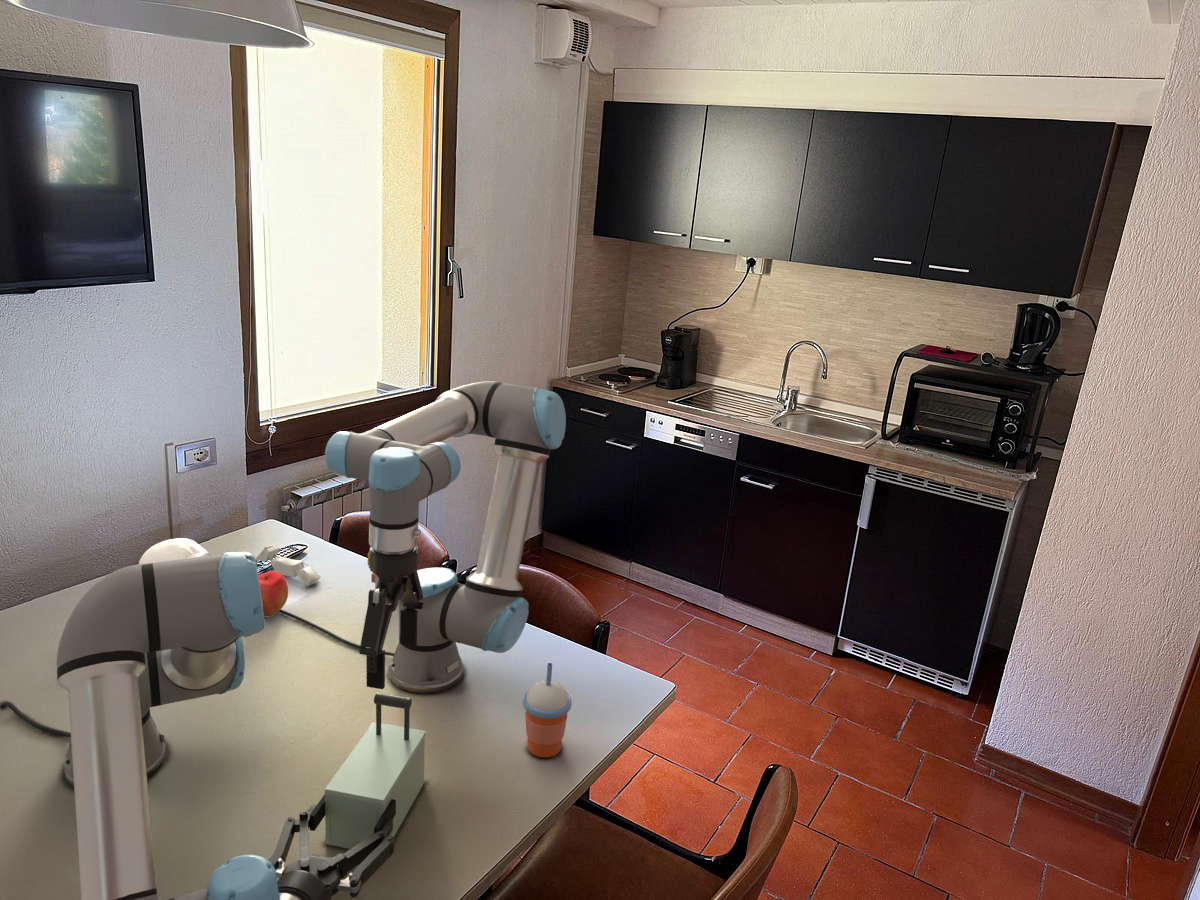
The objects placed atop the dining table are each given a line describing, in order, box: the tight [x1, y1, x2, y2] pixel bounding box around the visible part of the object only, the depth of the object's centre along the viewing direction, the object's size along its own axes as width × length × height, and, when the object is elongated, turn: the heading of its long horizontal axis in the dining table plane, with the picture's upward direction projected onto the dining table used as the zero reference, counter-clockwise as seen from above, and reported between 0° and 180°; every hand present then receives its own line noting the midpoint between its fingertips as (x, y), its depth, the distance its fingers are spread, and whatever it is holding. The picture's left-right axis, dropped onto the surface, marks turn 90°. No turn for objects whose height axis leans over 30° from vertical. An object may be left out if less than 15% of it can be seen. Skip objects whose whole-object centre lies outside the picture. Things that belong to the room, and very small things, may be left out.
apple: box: [258, 570, 289, 618], centre depth 199 cm, size 10×10×10 cm
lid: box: [324, 692, 427, 804], centre depth 138 cm, size 18×10×9 cm, turn 170°
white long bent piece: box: [255, 544, 322, 587], centre depth 219 cm, size 20×4×7 cm, turn 62°
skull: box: [138, 537, 211, 565], centre depth 200 cm, size 13×22×16 cm, turn 73°
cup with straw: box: [522, 662, 573, 758], centre depth 159 cm, size 9×9×18 cm
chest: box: [324, 736, 426, 850], centre depth 141 cm, size 17×10×10 cm, turn 170°
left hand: (362, 800), depth 135 cm, fingers closed on chest, 10 cm apart
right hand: (392, 664), depth 141 cm, fingers open, 13 cm apart
